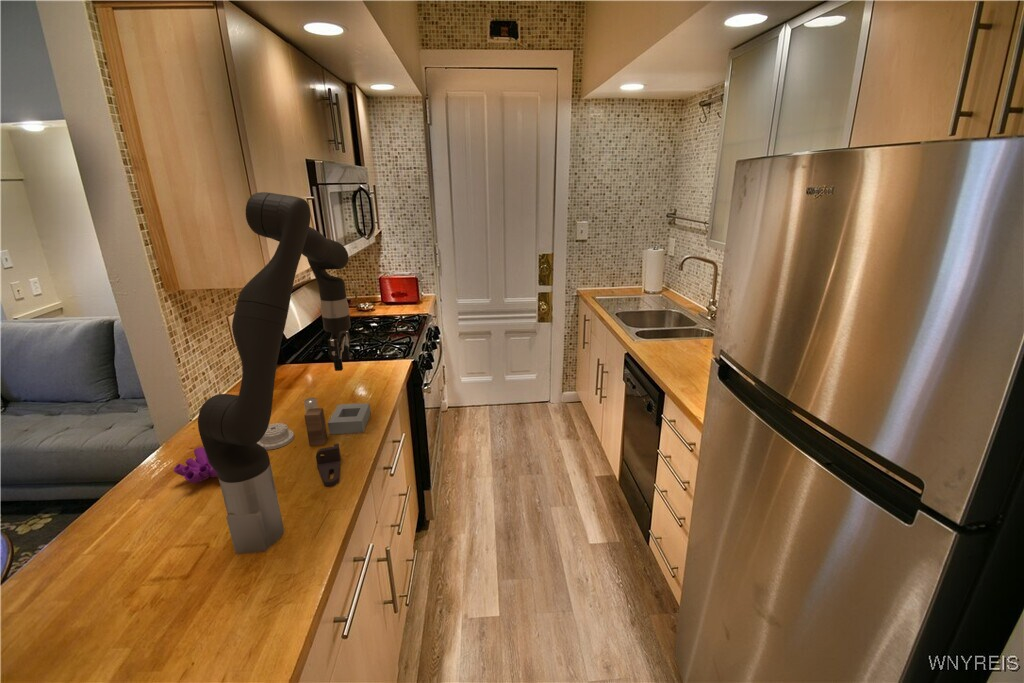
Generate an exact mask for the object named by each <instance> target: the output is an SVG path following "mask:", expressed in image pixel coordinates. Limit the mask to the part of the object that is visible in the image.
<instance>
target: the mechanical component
mask: <svg viewBox="0 0 1024 683" xmlns="http://www.w3.org/2000/svg"><path fill="white" fill-rule="evenodd" d="M294 438H295V435H294V432H293V430H291V429H290V428H289V429H288V425H287V424H285V423H283V422H277V423H270V424H269V425H268V428H267V430H266V432H265V434H264V436H263V437H262V438H261V440H260V441H258V442H257V443H258V444H259V445H261V446H262V447H264V448H265V449H266V450H267V451H271V450H276V449H279V448H282V447H285V446H287V445H288V444H290V443H291V442H293V441H294Z"/></svg>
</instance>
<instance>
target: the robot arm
mask: <svg viewBox="0 0 1024 683" xmlns="http://www.w3.org/2000/svg"><path fill="white" fill-rule="evenodd" d="M245 218H246V223H247V225H248V227H249V228H250V230H251V231H252V232H254V233H255V234H256V235H258V236H261V237H264V238H266V239H267V238H268V239H272V240H274V241H276V242H279V243H278V245H277V248H276V250H275V253H274V254H273V256H272V257H271V259H270V260H269V261H268V263H267V264H265V266H264V267H263V268H262V269H261V270H260V271H259V272H258V273H257V274H255V275H254V276H253V277H252V278H251V279H250V280H249V281H248V282H247V283H246V284H245V285H244V286H243V287H242V289H241V290H240V292H239V294H238V296H237V300H236V305H235V310H234V313H233V317H232V322H231V324H232V325H231V329H232V336H233V339H234V343H235V346H236V349H237V351H238V354H239V358H240V362H241V366H242V367H241V368H242V372H241V373H242V377H241V381H240V388H239V393H238V394H237V395H236V394H229V393H218V394H216V395H213V396H211V397H209V398H208V399H207V400H206V401H205V402H204V403H203V404H202V406H201V408H200V410H199V413H198V418H197V428H198V434H199V438H200V440H201V442H202V447H203V448H204V449H205V452H206V455H207V458H208V461H209V463H210V465H211V466H212V468H213V469H214V470H215V471H216V472H217V475H218V477H217V478H218V482H219V486H220V490H221V493H222V497H223V501H224V505H225V506H224V507H225V509H226V514H227V515H226V522H227V526H228V530H229V534H230V537H231V541H232V544H233V545H232V546H233V548H234V553H235V554H236V555H238V554H240V555H241V554H251V553H263V552H264V553H265V552H267V551H268V550H269V548H271V546H273V545H275V544H276V543H277V542H278V541H279V540H281V538H282V536H283V534H284V531H285V527H284V523H283V518H282V513H281V508H280V503H279V499H278V493H277V489H276V485H275V479H274V475H273V469H272V464H271V461H270V460H271V459H270V455H269V452H268V450H266V449H265V448H264V447H262V446H261V445H259V444H258V443H257V442H258V441H260V440H261V438H262V437H263V436H264V434H265V432H266V430H267V428H268V425H270V421H271V417H272V412H273V409H272V408H273V399H274V391H275V382H276V381H275V379H276V373H277V366H278V361H279V355H280V350H281V345H282V340H283V336H284V333H285V329H286V324H287V319H288V315H289V309H290V303H291V298H292V292H293V288H294V287H293V286H294V283H295V282H294V281H295V278H296V274H297V270H298V266H299V264H300V260H301V257H302V256H303V257H305V258H307V262H308V265H309V266H310V270H311V271H312V274H314V277H315V278H314V279H315V280H316V282H317V286H318V290H319V298H320V311H321V318H322V324H323V330H324V331H325V332H328V333H331V335H330V337H329V339H327V345H328V346H327V347H328V354H329V359H330V360H333V367H334V371H335V372H341V371H343V369H344V366H343V361H349V360H350V359H351V357H350V356H351V355H350V349H349V348H350V345H351V338H350V332H349V330H350V329H351V328H352V325H351V316H350V314H351V313H350V309H349V308H350V307H349V303H348V300H347V289H346V283H345V280H344V279H343V278H342V277H339V276H334V275H331V274H329V272H327V270H342V269H344V268H345V267H346V266H348V262H349V257H350V256H349V252H348V251H347V248H346V247H345V246H344V245H343V244H342V243H341V242H338V241H335V240H334V239H331V238H326V236H324V235H323V233H321V232H319V231H318V230H316V229H315V228H313V227H311V226H310V225H311V208H310V205H309V203H308V202H307V201H306V199H304V198H301V197H299V196H294V195H287V194H282V193H281V194H280V193H274V192H265V191H262V192H255V193H254V194H252V195H251V196H249V197H248V200H247V202H246V205H245Z"/></svg>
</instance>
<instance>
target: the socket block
mask: <svg viewBox="0 0 1024 683" xmlns="http://www.w3.org/2000/svg"><path fill="white" fill-rule="evenodd" d="M371 415H372V414H371V404H370V402H367V403H366V402H365V403H362V402H361V403H343V404H342V403H341V404H338V405H337V406H336V407H335V410H333V413H332V415H331V417H330V418H329V419H328V422H327V427H328V434H329V435H341V434H343V435H345V434H362V433H364V432H365V430H366V427H367V425H368V422H369V420H370V416H371Z"/></svg>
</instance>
